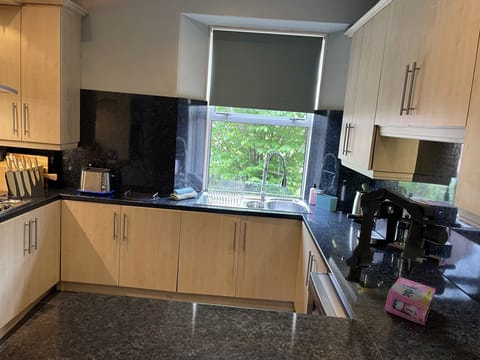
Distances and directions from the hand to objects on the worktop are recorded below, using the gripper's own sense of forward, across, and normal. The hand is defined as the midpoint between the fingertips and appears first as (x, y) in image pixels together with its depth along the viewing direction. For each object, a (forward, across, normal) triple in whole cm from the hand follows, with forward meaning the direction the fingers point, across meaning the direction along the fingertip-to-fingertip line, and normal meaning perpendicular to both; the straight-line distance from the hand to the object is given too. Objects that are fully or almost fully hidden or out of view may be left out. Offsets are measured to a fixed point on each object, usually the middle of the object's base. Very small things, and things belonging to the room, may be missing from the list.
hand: (407, 275), depth 139 cm
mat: (+13, +2, -2) cm, 13 cm away
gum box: (+8, -4, 0) cm, 9 cm away
